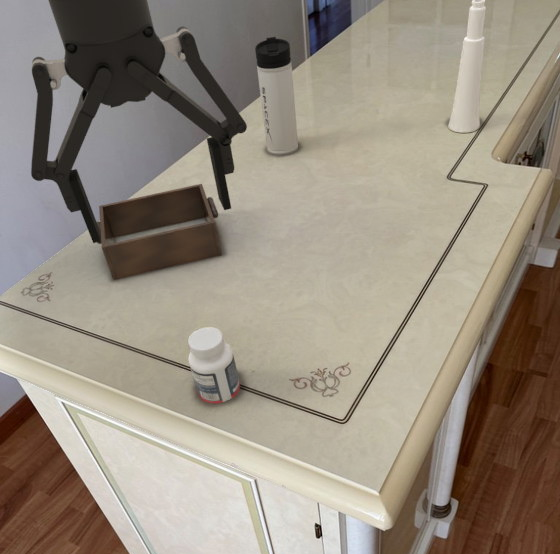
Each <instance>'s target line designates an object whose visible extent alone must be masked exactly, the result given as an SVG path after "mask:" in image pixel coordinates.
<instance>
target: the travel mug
mask: <svg viewBox="0 0 560 554" xmlns="http://www.w3.org/2000/svg"><path fill="white" fill-rule="evenodd" d="M254 51H255V59H256V68H257V79H258V85H259V86H258V87H259V94H260V104H261V112H262V120H263V128H264V135H265V144H266V151H267V153H268V154H269V155H271V156H275V157H284V156H288V155H291V154H294V153H295V152H297V151H298V150H299V140H298V139H299V138H298V137H299V136H298V125H297V115H296V101H295V89H294V78H293V77H294V76H293V66H292V57H291V45H290V42H289V41H288V40H285V39H282V38H277V37H276V36H270V37H266V38H265V40H262V41H260V42H259V43H257V44H256V45H255V49H254Z"/></svg>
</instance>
